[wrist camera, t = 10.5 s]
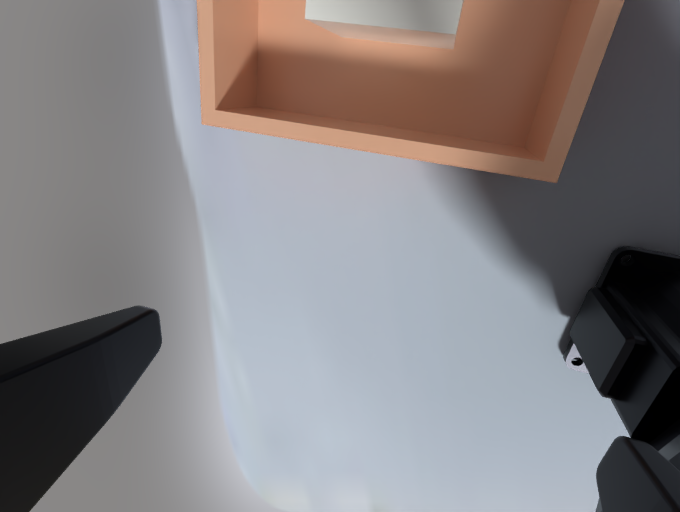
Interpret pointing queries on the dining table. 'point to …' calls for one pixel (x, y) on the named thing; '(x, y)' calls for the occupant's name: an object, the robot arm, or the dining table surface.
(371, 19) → the grey block
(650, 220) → the dining table surface
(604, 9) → the terracotta bin
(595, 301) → the robot arm
